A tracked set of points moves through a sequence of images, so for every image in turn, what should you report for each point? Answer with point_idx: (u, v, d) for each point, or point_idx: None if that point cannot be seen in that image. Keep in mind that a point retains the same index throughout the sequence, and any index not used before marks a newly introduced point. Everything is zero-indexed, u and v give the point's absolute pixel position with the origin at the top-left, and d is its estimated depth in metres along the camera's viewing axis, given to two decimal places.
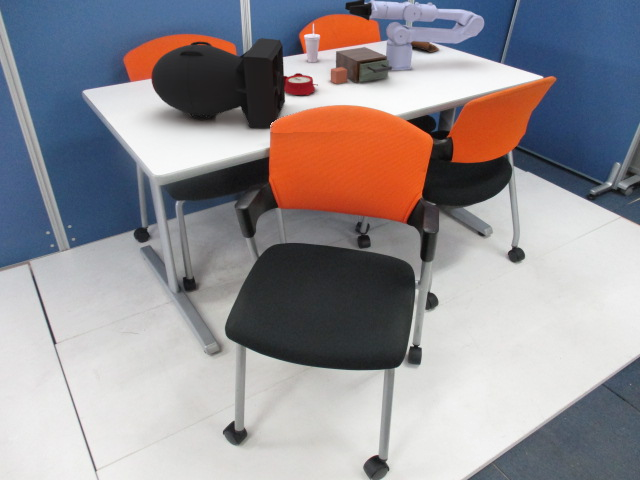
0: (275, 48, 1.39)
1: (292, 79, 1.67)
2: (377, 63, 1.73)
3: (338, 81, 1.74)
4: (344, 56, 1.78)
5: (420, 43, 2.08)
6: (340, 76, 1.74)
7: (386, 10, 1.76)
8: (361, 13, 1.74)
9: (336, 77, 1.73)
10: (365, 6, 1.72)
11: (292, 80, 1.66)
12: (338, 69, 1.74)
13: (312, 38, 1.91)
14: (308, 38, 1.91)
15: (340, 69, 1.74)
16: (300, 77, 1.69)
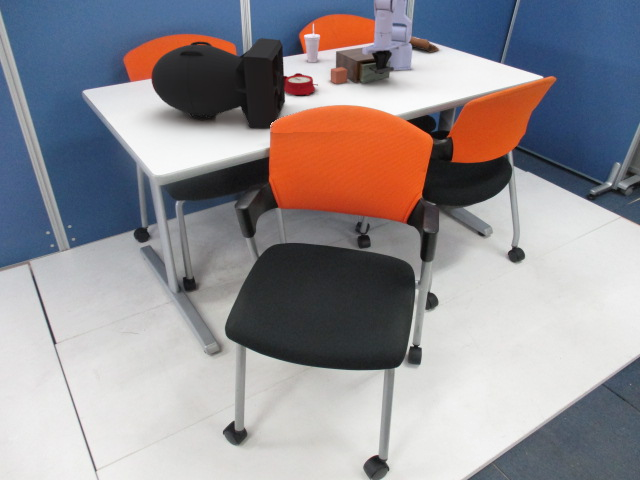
0: (275, 48, 1.39)
1: (292, 79, 1.67)
2: None
3: (338, 81, 1.74)
4: (344, 56, 1.78)
5: (420, 43, 2.08)
6: (340, 76, 1.74)
7: None
8: None
9: (336, 77, 1.73)
10: None
11: (292, 80, 1.66)
12: (338, 69, 1.74)
13: (312, 38, 1.91)
14: (308, 38, 1.91)
15: (340, 69, 1.74)
16: (300, 77, 1.69)
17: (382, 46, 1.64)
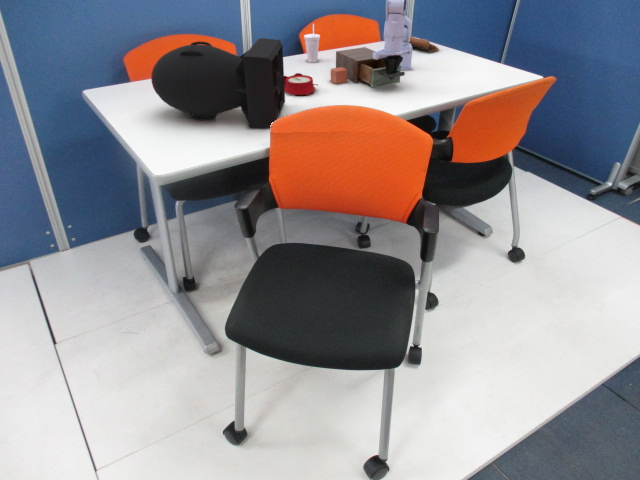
0: (275, 48, 1.39)
1: (292, 79, 1.67)
2: None
3: (338, 81, 1.74)
4: (344, 56, 1.78)
5: (420, 43, 2.08)
6: (340, 76, 1.74)
7: None
8: None
9: (336, 77, 1.73)
10: None
11: (292, 80, 1.66)
12: (338, 69, 1.74)
13: (312, 38, 1.91)
14: (308, 38, 1.91)
15: (340, 69, 1.74)
16: (300, 77, 1.69)
17: (393, 51, 1.60)
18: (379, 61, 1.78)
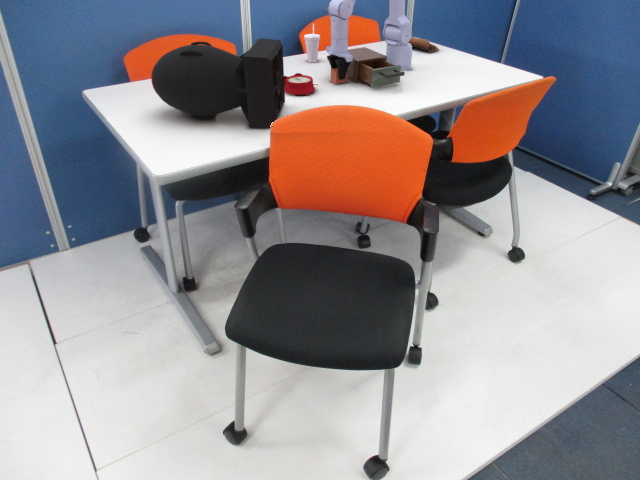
0: (275, 48, 1.39)
1: (292, 79, 1.67)
2: (389, 68, 1.68)
3: (338, 81, 1.74)
4: None
5: (420, 43, 2.08)
6: None
7: (342, 39, 1.66)
8: (344, 67, 1.72)
9: (336, 77, 1.73)
10: (340, 66, 1.70)
11: (292, 80, 1.66)
12: None
13: (312, 38, 1.91)
14: (308, 38, 1.91)
15: None
16: (300, 77, 1.69)
17: (331, 49, 1.71)
18: (379, 61, 1.78)
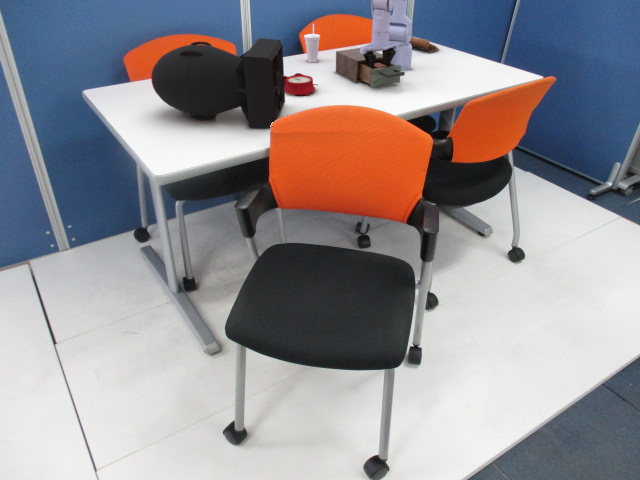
0: (275, 48, 1.39)
1: (292, 79, 1.67)
2: (389, 68, 1.68)
3: None
4: (344, 56, 1.78)
5: (420, 43, 2.08)
6: None
7: None
8: None
9: None
10: None
11: (292, 80, 1.66)
12: (379, 65, 1.71)
13: (312, 38, 1.91)
14: (308, 38, 1.91)
15: (379, 64, 1.72)
16: (300, 77, 1.69)
17: (379, 45, 1.65)
18: (379, 61, 1.77)
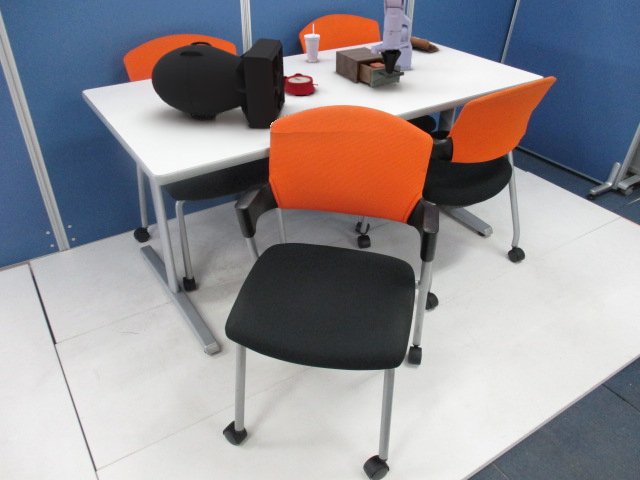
0: (275, 48, 1.39)
1: (292, 79, 1.67)
2: None
3: None
4: (344, 56, 1.78)
5: (420, 43, 2.08)
6: None
7: None
8: None
9: None
10: None
11: (292, 80, 1.66)
12: (379, 64, 1.72)
13: (312, 38, 1.91)
14: (308, 38, 1.91)
15: (379, 64, 1.72)
16: (300, 77, 1.69)
17: (391, 45, 1.60)
18: (379, 61, 1.78)
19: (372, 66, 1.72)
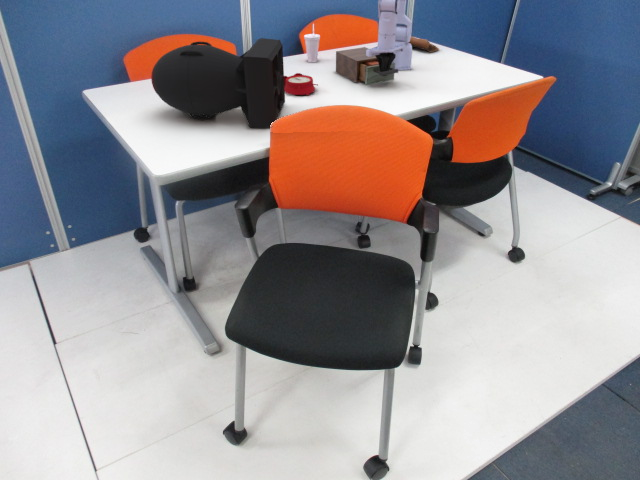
0: (275, 48, 1.39)
1: (292, 79, 1.67)
2: None
3: None
4: (344, 56, 1.78)
5: (420, 43, 2.08)
6: None
7: None
8: None
9: None
10: None
11: (292, 80, 1.66)
12: (374, 62, 1.74)
13: (312, 38, 1.91)
14: (308, 38, 1.91)
15: (373, 61, 1.74)
16: (300, 77, 1.69)
17: (386, 48, 1.63)
18: None
19: (367, 64, 1.74)
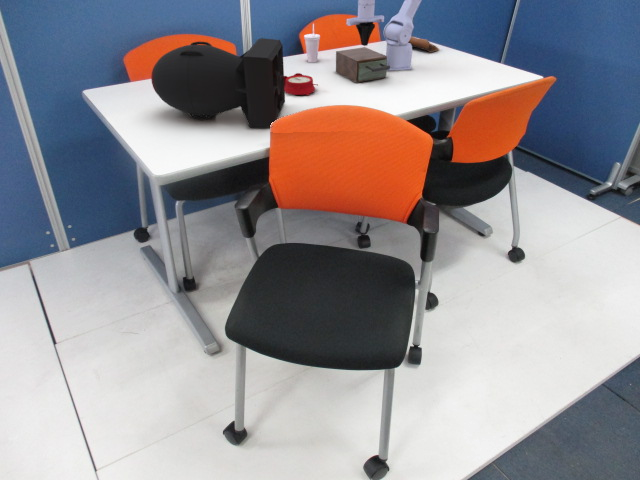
0: (275, 48, 1.39)
1: (292, 79, 1.67)
2: (375, 62, 1.74)
3: None
4: (344, 56, 1.78)
5: (420, 43, 2.08)
6: None
7: None
8: None
9: None
10: None
11: (292, 80, 1.66)
12: None
13: (312, 38, 1.91)
14: (308, 38, 1.91)
15: None
16: (300, 77, 1.69)
17: (365, 18, 1.71)
18: None
19: None
